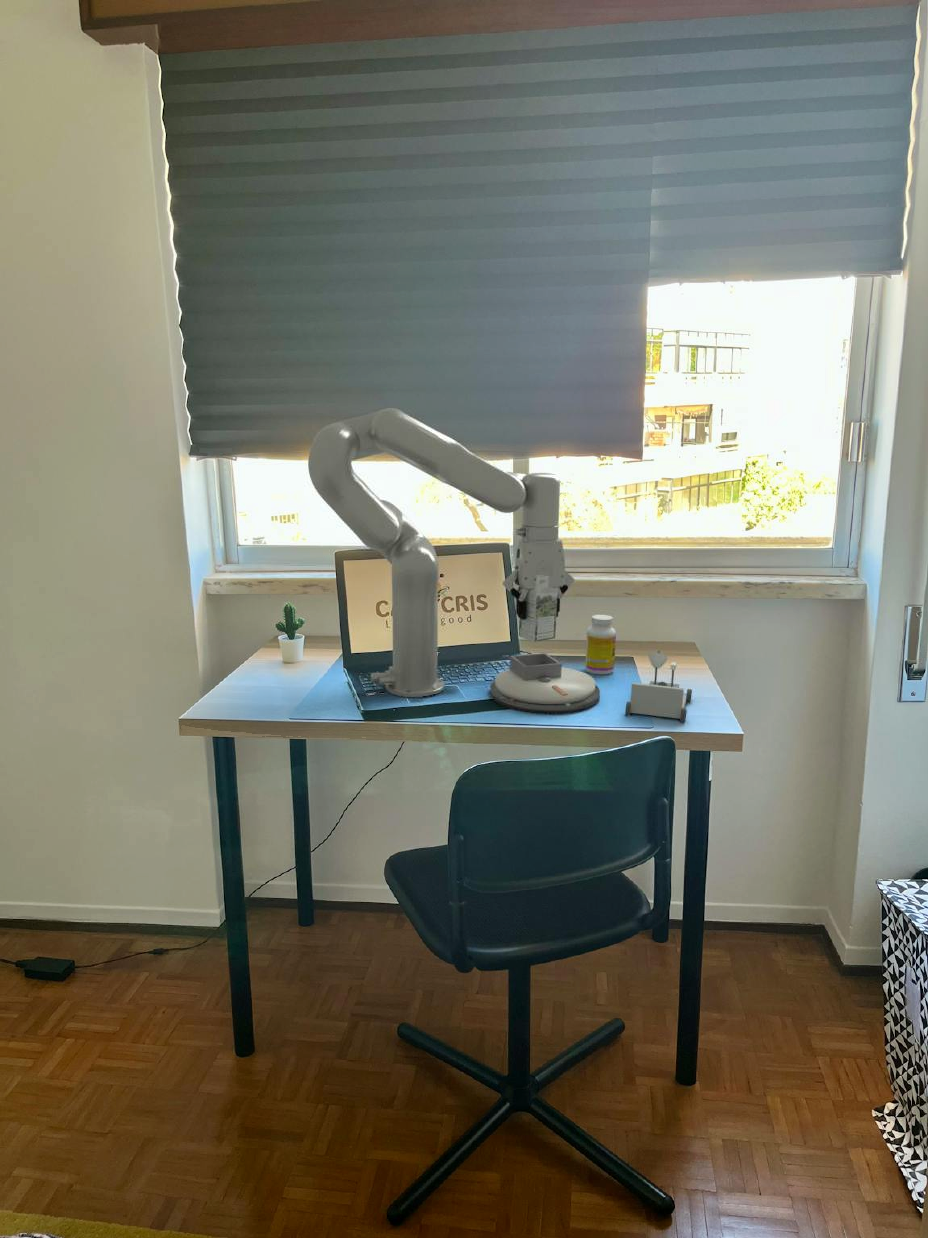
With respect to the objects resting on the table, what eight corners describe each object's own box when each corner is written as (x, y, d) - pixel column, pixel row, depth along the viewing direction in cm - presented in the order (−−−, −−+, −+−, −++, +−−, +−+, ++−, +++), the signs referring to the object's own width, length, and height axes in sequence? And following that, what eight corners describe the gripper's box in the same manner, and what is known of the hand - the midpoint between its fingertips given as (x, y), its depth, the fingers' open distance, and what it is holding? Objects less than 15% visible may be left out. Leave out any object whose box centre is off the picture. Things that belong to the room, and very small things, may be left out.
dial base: (514, 719, 177) (514, 710, 177) (475, 683, 198) (475, 675, 198) (619, 707, 184) (619, 699, 184) (570, 674, 206) (571, 666, 205)
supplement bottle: (615, 676, 205) (619, 621, 202) (586, 675, 205) (589, 620, 202) (611, 667, 212) (614, 613, 208) (583, 666, 212) (585, 613, 208)
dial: (612, 698, 185) (614, 677, 183) (517, 708, 178) (518, 686, 177) (568, 668, 204) (569, 649, 203) (481, 676, 197) (481, 657, 196)
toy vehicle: (640, 647, 194) (695, 652, 190) (637, 690, 196) (692, 697, 193) (627, 671, 177) (688, 677, 174) (624, 718, 180) (684, 725, 176)
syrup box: (539, 632, 197) (541, 567, 194) (556, 639, 193) (558, 572, 189) (518, 636, 194) (519, 570, 191) (535, 642, 190) (536, 574, 186)
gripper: (507, 538, 182) (506, 624, 186) (586, 534, 187) (582, 618, 192) (494, 532, 189) (493, 615, 193) (570, 529, 194) (567, 610, 198)
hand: (537, 616), depth 192 cm, fingers closed on syrup box, 6 cm apart
